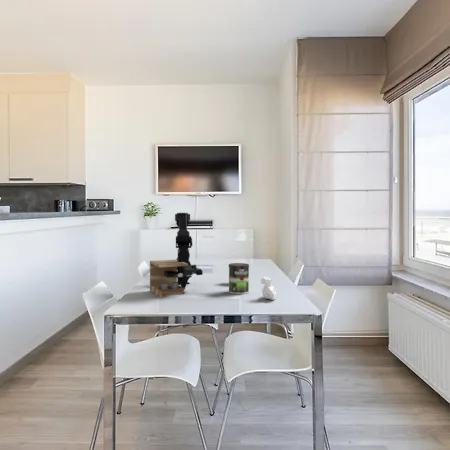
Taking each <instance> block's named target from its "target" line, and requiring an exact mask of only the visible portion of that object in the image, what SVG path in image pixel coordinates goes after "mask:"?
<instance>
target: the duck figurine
mask: <svg viewBox="0 0 450 450" xmlns="http://www.w3.org/2000/svg"><path fill="white" fill-rule="evenodd" d="M260 283H261V284H262V285H264V286H263V287H262V288H261V293H262V297H263V298H264V299H265V300H272V301H274V300H276V299H277V296H278V295H277V291H276V290H275V287H274V286H273V285H272V279H271V278H270V277H268V276H263V277H262V278H261V280H260Z"/></svg>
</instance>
